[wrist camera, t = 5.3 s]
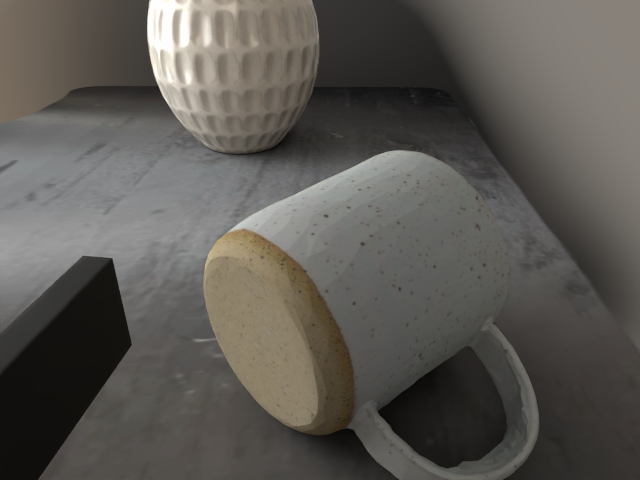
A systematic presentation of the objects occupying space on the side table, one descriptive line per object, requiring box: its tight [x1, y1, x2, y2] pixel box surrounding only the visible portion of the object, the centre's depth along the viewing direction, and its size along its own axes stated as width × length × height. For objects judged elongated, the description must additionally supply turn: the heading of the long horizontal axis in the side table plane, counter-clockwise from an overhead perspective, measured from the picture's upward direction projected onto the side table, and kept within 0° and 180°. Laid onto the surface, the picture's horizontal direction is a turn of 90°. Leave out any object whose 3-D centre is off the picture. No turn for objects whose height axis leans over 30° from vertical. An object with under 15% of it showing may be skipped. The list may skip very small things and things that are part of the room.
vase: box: [147, 0, 319, 154], centre depth 39 cm, size 13×13×17 cm
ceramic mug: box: [204, 150, 539, 480], centre depth 16 cm, size 11×8×8 cm
